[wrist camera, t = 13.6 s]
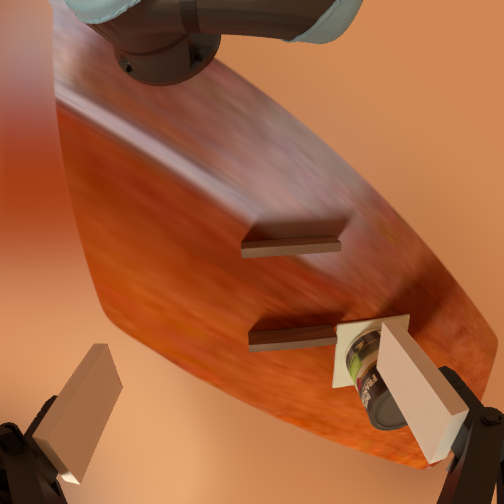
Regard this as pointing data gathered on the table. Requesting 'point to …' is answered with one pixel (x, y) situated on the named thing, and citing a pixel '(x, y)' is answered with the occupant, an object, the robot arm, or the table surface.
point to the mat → (347, 335)
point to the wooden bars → (292, 336)
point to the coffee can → (372, 381)
